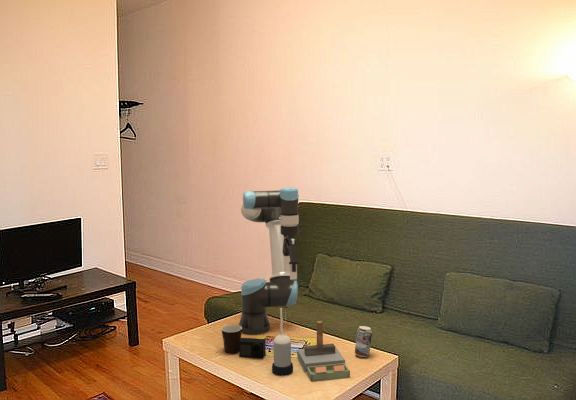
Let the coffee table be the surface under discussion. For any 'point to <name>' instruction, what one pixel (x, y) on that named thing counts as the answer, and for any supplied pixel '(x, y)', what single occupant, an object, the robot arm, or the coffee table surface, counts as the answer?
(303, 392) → the coffee table surface
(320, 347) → the scraper
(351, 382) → the coffee table surface
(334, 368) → the tile
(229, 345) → the coffee mug
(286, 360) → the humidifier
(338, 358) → the grey flat block
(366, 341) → the beverage can
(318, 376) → the box
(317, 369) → the tile
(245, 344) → the digital camera
